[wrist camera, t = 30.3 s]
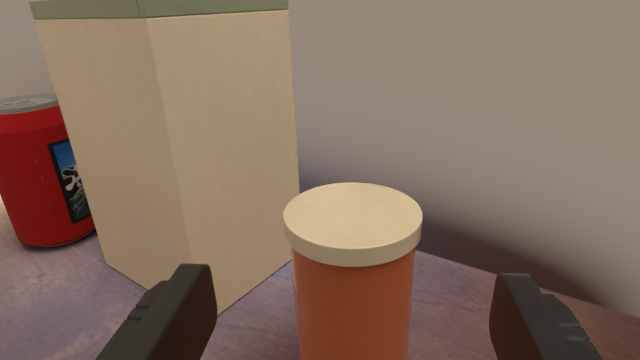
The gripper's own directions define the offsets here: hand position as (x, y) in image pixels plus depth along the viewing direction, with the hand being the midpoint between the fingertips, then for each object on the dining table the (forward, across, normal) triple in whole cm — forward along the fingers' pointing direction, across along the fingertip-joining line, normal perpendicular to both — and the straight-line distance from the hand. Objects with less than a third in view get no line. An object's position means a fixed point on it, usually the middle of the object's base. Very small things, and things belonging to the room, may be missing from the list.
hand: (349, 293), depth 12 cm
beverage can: (+20, -27, -11) cm, 35 cm away
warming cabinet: (+17, -12, -11) cm, 23 cm away
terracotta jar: (+5, 0, -11) cm, 12 cm away
